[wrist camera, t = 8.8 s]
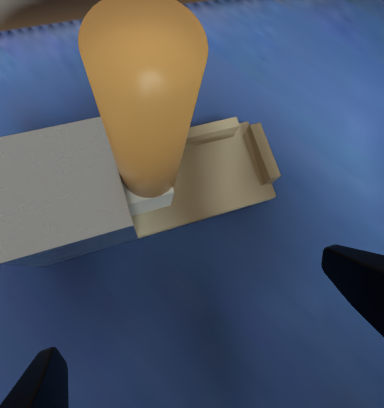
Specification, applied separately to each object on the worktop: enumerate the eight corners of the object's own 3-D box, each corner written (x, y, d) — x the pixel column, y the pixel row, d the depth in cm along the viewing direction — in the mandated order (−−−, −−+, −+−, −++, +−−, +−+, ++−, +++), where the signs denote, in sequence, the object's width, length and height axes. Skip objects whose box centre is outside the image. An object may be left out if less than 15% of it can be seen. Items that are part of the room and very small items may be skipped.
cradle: (244, 126, 22) (255, 109, 20) (272, 199, 21) (286, 189, 19) (115, 157, 20) (110, 142, 18) (138, 238, 19) (136, 233, 17)
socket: (115, 157, 20) (102, 116, 15) (138, 238, 19) (133, 225, 14) (23, 178, 19) (-25, 142, 14) (42, 267, 18) (-3, 263, 13)
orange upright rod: (165, 159, 20) (186, -17, 8) (179, 203, 19) (225, 85, 7) (50, 187, 18) (-141, 24, 6) (61, 235, 18) (-127, 156, 6)
